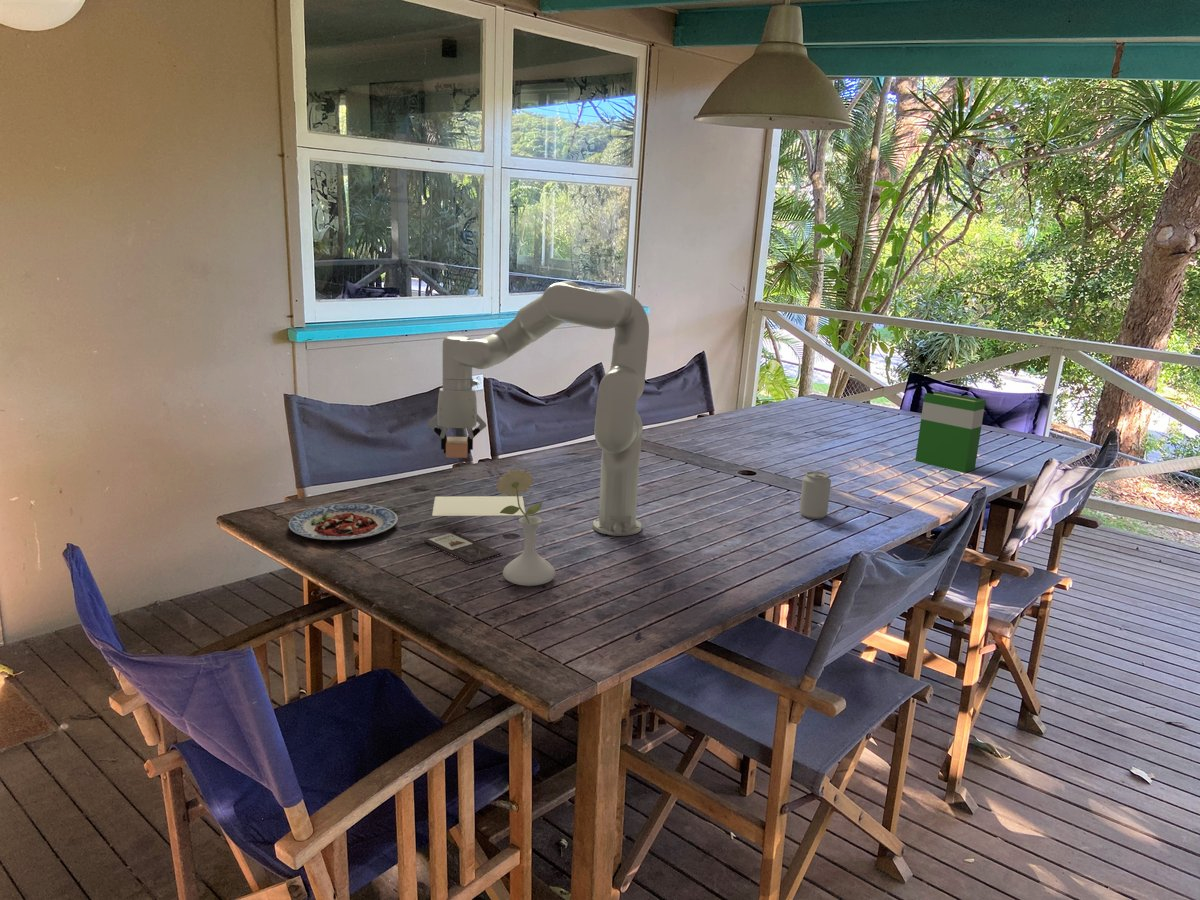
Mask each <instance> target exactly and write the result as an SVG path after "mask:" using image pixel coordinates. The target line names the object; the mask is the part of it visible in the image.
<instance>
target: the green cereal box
mask: <svg viewBox="0 0 1200 900" xmlns="http://www.w3.org/2000/svg"><path fill="white" fill-rule="evenodd" d="M923 396H924V397H923V403H922V409H921V417H920V423H919V424H920V426H919V431H918V438H917V439H918V440H917V445H916V446H917V447H916V454H915V460H914V461H915V462H917V463H922V464H925V465H926V464H927V465H929V466H934V467H938V468H942V469H947V470H951V471H955V472H958V473H962V474H966V473H969V472H971V471H975V469H976V463H977V457H978V452H979V451H978V450H979V445H980V439H981V438H980V437H981V433H982V425H983V420H984V419H983V418H984V413H985V407H986V406H985V405H986V399H981V398H975V397H971V396H965V395H960V394H953V393H947V392H942V391H937V390H934V391H933V393H929V392H924V395H923Z"/></svg>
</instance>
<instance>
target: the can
mask: <svg viewBox="0 0 1200 900" xmlns="http://www.w3.org/2000/svg"><path fill="white" fill-rule="evenodd" d="M831 483H832V481H831V479H830V475H829V474H828V473H826V472H823V471H816V470H811V471H809V470H808V471H806V472H805V475H804V476H803V477H802V482H801V491H800V492H801V493H800V502H799V510H798V511H799V513H800V514H801V516H803V517H805V518H808V519H811V520H820V519H823V518H825V517H826V516H828V512H829V511H828V509H829V502H830V493H831V485H832V484H831Z"/></svg>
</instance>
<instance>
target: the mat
mask: <svg viewBox="0 0 1200 900" xmlns="http://www.w3.org/2000/svg"><path fill="white" fill-rule="evenodd" d="M518 497H519V504H520V507H521V509H522V510H523V512H524V513H525V514H526V508H525V503H524V498H523V497H524V496H523V495H521V496H520V495H518ZM433 501H434V502H433V508H432V514H431V516H432V517H469V516H471V517H479V516H480V517H481V516H482V517H484V516H485V517H490V516H491V517H493V516H499V517H500V516H501V517H502V516H505V517H506V516H511V517H512V516H513V517H514V516H518V517H519V516H520V517H525V516H524V514H523V513H522V512H521V510H520V509H519V510H518V511H517V512H516V513H515V514H505V513H500V512H501V510H503V509H504V508H505V507H507V506H515V507H518V508H519V506H518V500H517V495H515V496H508V495H507V496H506V495H503V496H501V495H500V496H499V495H497V496H495V495H494V496H489V495H488V496H487V495H485V496H480V495H479V496H477V495H475V496H468V495H467V496H461V495H460V496H435V497H434V500H433Z"/></svg>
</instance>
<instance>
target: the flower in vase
mask: <svg viewBox="0 0 1200 900" xmlns="http://www.w3.org/2000/svg"><path fill="white" fill-rule="evenodd" d="M531 485H533V477H532V474H531V472H530V471H526V472H525V469H524V468H522V469H519V468H516V469H515V470H513V469H510V470H508V472H506V473H505V472H504V473H503V475H501V476H500V477H498V481H497V482H496V485H495V487H496V489H497V490H498V493H499V494H501V495H503V496H506V495H507V496H517V500H518V506H519V508H518V507H515V506H507V507H505V508H504V509H503V510H501V512H500V513H505V514H515V513H516V512H517V511H518V510H519V509H520V510H521V512H522V513H523V514H524V516H520V518H519V519H518V522H519V523H520V525H521V527H522V530H523V534H524V545H523V546H524V548H523V551H522V552H521V554H519V555H518V556H517V557H516V558H514V559H513V560H511V561H510V562H509V563H508V564H506V565H505V566H504V569H503V570H502V575H503V577H504V579H505V580H506V581H508V582H510V583H512V584H514V585H518V586H525V587H532V586H534V587H535V586H541V585H544V584H546V583H549V582H551V581H552V580H554V578H555V576H556V570H555V567H554V566H553V565H552V564H551V563H550V562H549V561H547V559H545V558H543V557H542V556H541V555H539V554H538V552H537V550H536V536H537V531H538V528H539V526H540V525H541V523H542V522H543V519H542V518H540V517H539V516H533V515H534V514H537V513H538V511H540V509H541V508H542V503H543V502H540V503H536V504H533V505H531V506H529V507H527V509H526V511H525V513H524V512H523V510H522V509H521V507H520V504H519V497H518V496H519V495H521V494H522V493H525V492H528V489H529V488H531Z"/></svg>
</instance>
